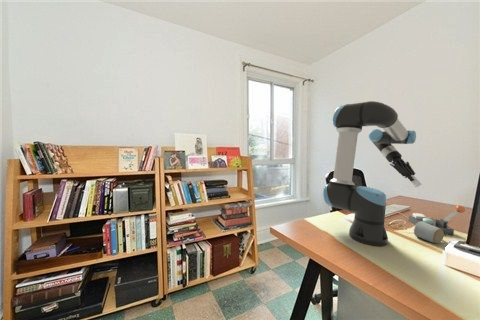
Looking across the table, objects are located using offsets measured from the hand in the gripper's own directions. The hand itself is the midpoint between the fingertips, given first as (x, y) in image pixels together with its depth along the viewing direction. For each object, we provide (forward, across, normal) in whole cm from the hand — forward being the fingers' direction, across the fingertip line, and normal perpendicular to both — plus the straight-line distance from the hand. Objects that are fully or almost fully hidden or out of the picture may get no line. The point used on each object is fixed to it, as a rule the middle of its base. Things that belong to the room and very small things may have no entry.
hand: (418, 185), depth 110 cm
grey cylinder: (+27, -16, +4) cm, 32 cm away
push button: (+19, -4, +7) cm, 20 cm away
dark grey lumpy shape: (+20, 0, +10) cm, 22 cm away
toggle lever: (+20, 0, +4) cm, 21 cm away
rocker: (+13, 0, +11) cm, 17 cm away
